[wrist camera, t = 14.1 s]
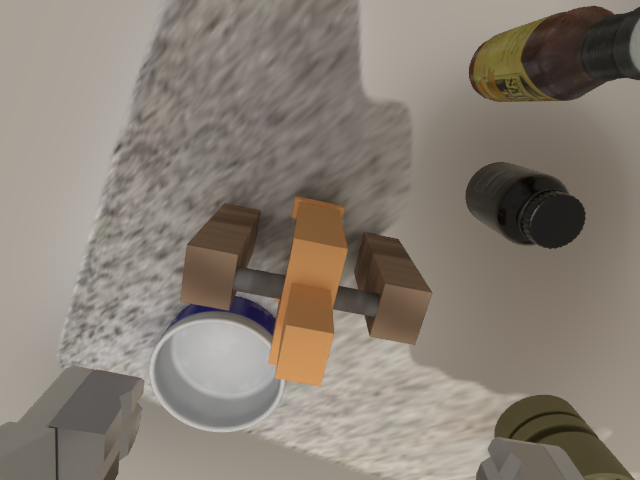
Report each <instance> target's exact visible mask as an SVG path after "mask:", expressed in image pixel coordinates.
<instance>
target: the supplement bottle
mask: <svg viewBox="0 0 640 480" xmlns="http://www.w3.org/2000/svg"><path fill="white" fill-rule="evenodd" d="M466 203H467V207H468V209H469V210H470V212H471V213H472V215H473V216H474V217H476V218H477V219H478V220H480V221H481V222H483V223H484V224H486V225H487V226H488V227H490V228H491V229H493V230H494V231H496V232H497V233H499V234H500V235H502V236H503V237H505V238H506V239H508V240H509V241H512V242H513V243H516V244H519V245H524V246H533V245H539V246H542V247H544V248H549V249H551V248H555V249H556V248H558V247H562V246H564V245H567V244H568V243H570V242H572V241H573V240H574V239H575V238H576V237H577V235H579V234H580V231H581V230H582V229H583V225H584V224H585V222H584V221H585V211H584V207H583V206H582V203H580V201H579V200H578V199H576V198H575V197H574V196H572V195H570V193H569V191H568V189H567V188H566V186H565V185H564V184H563V183H562V182H561V181H560V180H558V179H557V178H555V177H553V176H550V175H547V174H544V173H540V172H537V171H534V170H530V169H527V168H524V167H520V166H517V165H514V164H510V163H504V162H498V163H492V164H489V165H487V166H485V167H483V168H481V169H480V170H479V171H477V172H476V173H475V175H474V176H473V177H472V178H471V180H470V182H469V184H468V186H467V189H466Z"/></svg>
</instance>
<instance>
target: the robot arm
mask: <svg viewBox="0 0 640 480" xmlns="http://www.w3.org/2000/svg"><path fill="white" fill-rule="evenodd" d="M143 391H144V380H143V379H142V378H138V377H133V376H128V375H123V374H118V373H112V372H107V371H102V370H97V369H96V370H93V369H88V368H83V367H78V366H73V365H72V366H71V367H69V368H67V369H65V370H64V371H63V372H62V373H61V375H60V376H59V377H58V378H57V379H56V380H55V381H54V382H53V383H52V385H51V386H50V387H49V388H48V389H47V390H46V391H45V392H44V394H43V395H42V396H41V397H40V398H39V399H38V400H37V401H36V403H35V404H34V405H33V406H32V407H31V408H30V409H29V410H28V411H27V413H26V414H25V415H24V416H23V417H22V418H21V419H20V420H19V421H18V422H17V423H15V422H7V423H5V424H3V425H1V426H0V480H115V479H116V477H117V475H118V468H119V460H121V459H122V458H123V457H125V456H127V455H128V454H129V451H130V450H131V448H132V446H133V443H134V441H135V438H136V435H137V433H138V430H139V425H140V421H141V415H142V408H141V406H140V405H139V404H138V401H139V400H140V398H141V396H142V394H143ZM488 451H489V454H490V457H489V458H488V459H486V460H485V461H483V462H482V463H481V464H480V466H479V469H478V471H477V474H476V480H585V479H584V478H583V477H582V475H581V474H580V472H579V471H578V469H577V468H576V466H575V465H574V463H573V462H572V461H571V459H570V458H569V456H568V455H567V453H566V452H565V451H564V450H563V449H561V448H560V447H559V446H553V445H546V444H540V443H537V444H536V443H532V442H525V441H519V440H512V439H506V438H500V437H496V438H495V439H494V440H492V442H491V443H490V445H489V447H488Z"/></svg>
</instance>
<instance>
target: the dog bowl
mask: <svg viewBox="0 0 640 480" xmlns="http://www.w3.org/2000/svg"><path fill="white" fill-rule="evenodd" d="M275 322H276V319H275V318H274V317H273V316H272V315H271V314H270V313H269V312H268V311H266V310H265V309H264V308H262V307H261V306H259V305H257V304H256V303H254V302H252V301H249V300H247V299H244V298H240V297H234V299H233V302H232V304H231V307H230V309H229V311H228V310H223V309H217V308H212V307H207V306H201V305H196V304H191V305H189V306H188V307H186V308H185V309H184V310H182V311H181V312H180V313H179V315H178V316H177V317H176V318H175V320H174V321H173V322H172V323H171V325H170V326H169V327H168V329H167V330H166V331H165V333H164V334H163V335H162V337H161V338H160V340H159V341H158V343H157V344H156V346H155V348H154V350H153V352H152V354H151V358H150V362H149V378H150V383H151V386H152V389H153V391H154V394H155V395H156V397H157V399H158V400H159V402H160V403H161V405H162V406H163V407H164V408H165V409H166V410H167V411H168V412H169V413H170V414H171V415H173V416H174V417H175V418H177V419H178V420H180V421H182V422H183V423H185V424H187V425H190V426H192V427H195V428H198V429H201V430H205V431H211V432H233V431H238V430H242V429H246V428H249V427H251V426H254V425H256V424H257V423H259V422H261V421H262V420H264V419H265V418H266V417H268V416H269V415H270V414H271V413H272V412H273V411H274V410H275V408H276V407H277V405H278V404H279V402H280V400H281V398H282V396H283V393H284V390H285V384H286V380H282V379H276V378H275V374H276V367H277V366H276V365H271V364H268V361H269V356H270V350H271V344H272V339H273V333H274V328H275Z"/></svg>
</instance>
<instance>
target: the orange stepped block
mask: <svg viewBox="0 0 640 480" xmlns="http://www.w3.org/2000/svg"><path fill="white" fill-rule="evenodd" d="M344 211H345V207H344V206H341V205H337V204H332V203H327V202H322V201H317V200H313V199H308V198H303V197H298V196H296V197H295V201H294V206H293V211H292V216H291V218H296V224H295V230H294V237H293V243H292V249H291V254H290V259H289V263H288V268H287V273H286V278H285V283H284V288H283V292H282V297H281V299H276V298H275V300H274V301H276V302H279V305H278V311H277V316H276V322H275V328H274V333H273V339H272V344H271V350H270V356H269V361H268V364H271V365H276V366H277V367H276V374H275V378H276V379H282V380H287V381H293V382H299V383H305V384H311V385H316V386H321V382H322V378H323V375H324V371H325V367H326V363H327V360H328V356H329V352H330V348H331V344H332V341H333V337H334V324H333V312H332V310H333V306H334V302H335V298H336V294H337V290H338V286H339V282H340V279H341V275H342V271H343V267H344V263H345V259H346V255H347V251H348V247H347V242H346V238H345V233H344V229H343V224H342V219H343V215H344Z"/></svg>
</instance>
